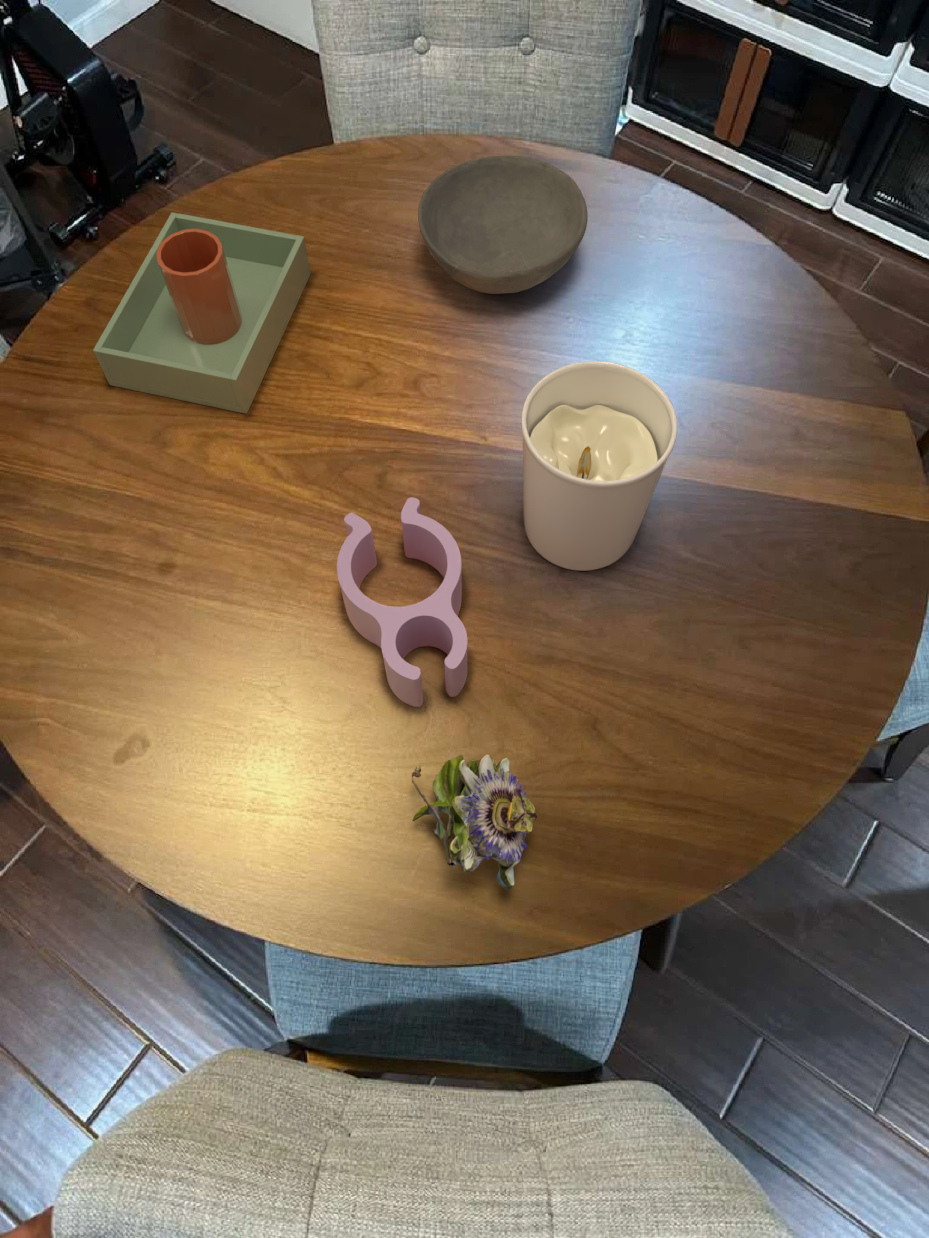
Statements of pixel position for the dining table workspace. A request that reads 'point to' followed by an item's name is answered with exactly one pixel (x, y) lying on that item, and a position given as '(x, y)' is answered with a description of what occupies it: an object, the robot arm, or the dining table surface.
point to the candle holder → (592, 460)
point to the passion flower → (481, 814)
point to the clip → (415, 622)
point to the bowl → (502, 222)
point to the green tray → (204, 374)
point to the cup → (200, 285)
